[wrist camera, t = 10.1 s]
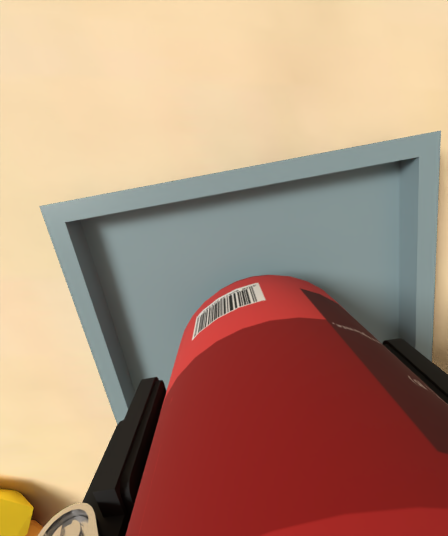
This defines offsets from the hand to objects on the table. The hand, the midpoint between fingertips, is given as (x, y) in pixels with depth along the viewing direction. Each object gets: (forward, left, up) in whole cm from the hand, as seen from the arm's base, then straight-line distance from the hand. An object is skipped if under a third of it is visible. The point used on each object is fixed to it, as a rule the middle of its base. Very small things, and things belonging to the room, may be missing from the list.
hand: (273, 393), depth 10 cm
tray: (0, 0, -5) cm, 5 cm away
